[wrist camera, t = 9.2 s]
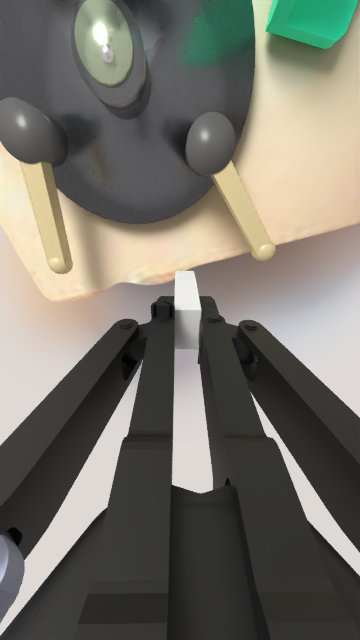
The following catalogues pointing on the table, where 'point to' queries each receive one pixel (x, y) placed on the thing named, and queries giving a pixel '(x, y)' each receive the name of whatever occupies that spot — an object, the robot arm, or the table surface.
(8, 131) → the knob
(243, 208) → the knob
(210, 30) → the level base
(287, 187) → the table surface
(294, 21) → the camera mount
